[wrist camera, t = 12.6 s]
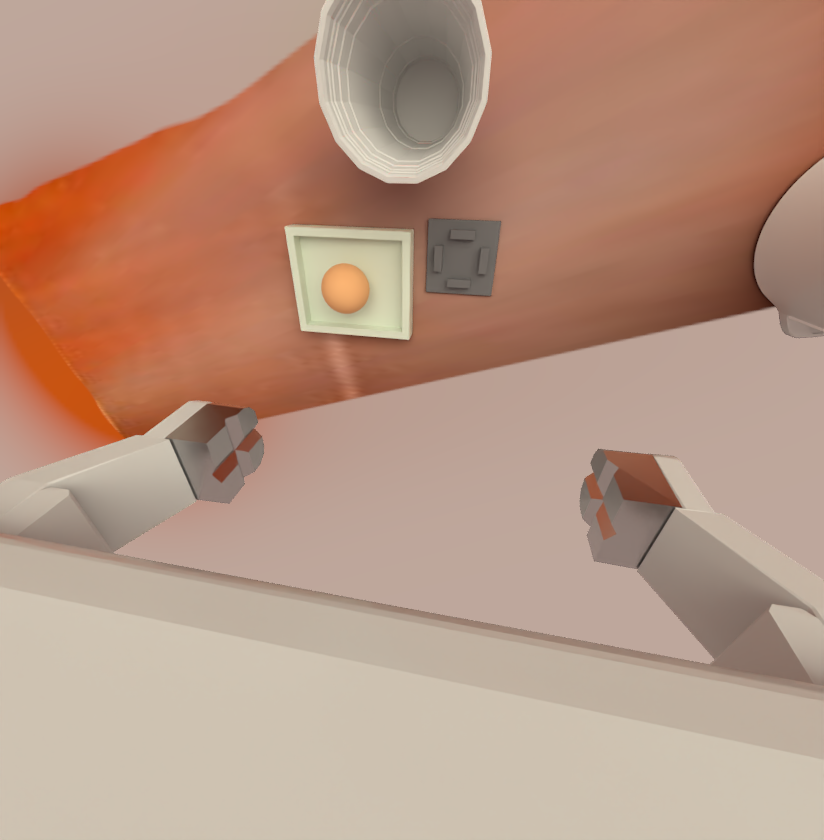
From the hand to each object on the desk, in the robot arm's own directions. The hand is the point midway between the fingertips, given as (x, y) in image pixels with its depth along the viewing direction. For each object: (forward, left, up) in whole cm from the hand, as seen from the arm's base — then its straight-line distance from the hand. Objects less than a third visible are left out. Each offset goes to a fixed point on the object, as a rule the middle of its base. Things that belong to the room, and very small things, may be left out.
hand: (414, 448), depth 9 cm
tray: (+12, +5, -34) cm, 37 cm away
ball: (+12, +5, -34) cm, 36 cm away
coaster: (+1, +2, -34) cm, 34 cm away
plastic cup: (+5, -10, -34) cm, 36 cm away
